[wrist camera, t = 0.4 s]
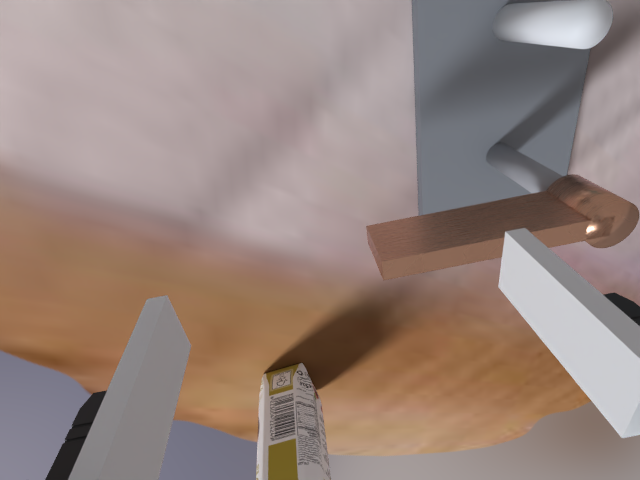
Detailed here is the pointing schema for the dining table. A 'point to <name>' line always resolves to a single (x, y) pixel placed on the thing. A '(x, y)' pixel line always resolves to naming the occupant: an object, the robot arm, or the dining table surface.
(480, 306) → the dining table surface
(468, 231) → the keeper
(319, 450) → the juice carton
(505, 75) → the base plate
